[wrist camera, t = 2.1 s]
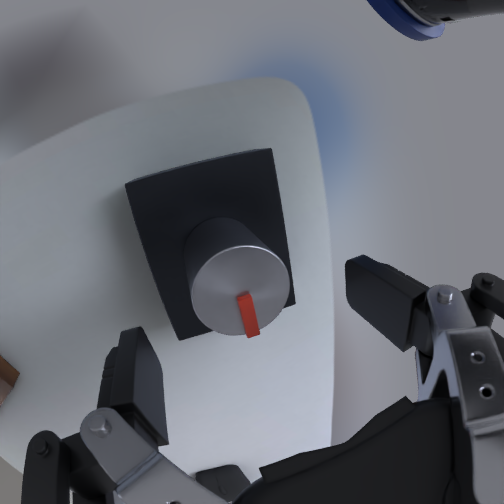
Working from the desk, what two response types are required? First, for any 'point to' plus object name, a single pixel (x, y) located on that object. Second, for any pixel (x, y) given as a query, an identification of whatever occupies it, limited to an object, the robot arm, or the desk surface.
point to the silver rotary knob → (234, 278)
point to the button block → (6, 379)
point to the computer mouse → (224, 481)
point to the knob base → (199, 210)
